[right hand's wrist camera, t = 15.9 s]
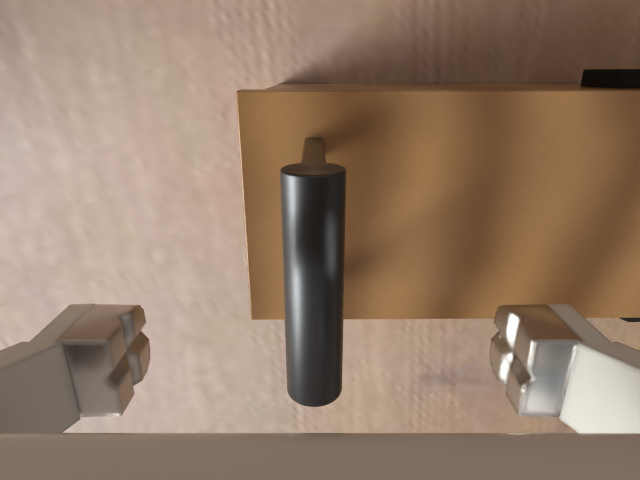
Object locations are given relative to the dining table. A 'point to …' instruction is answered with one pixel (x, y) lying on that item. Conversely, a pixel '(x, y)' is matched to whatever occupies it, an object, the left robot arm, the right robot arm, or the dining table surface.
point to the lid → (433, 209)
